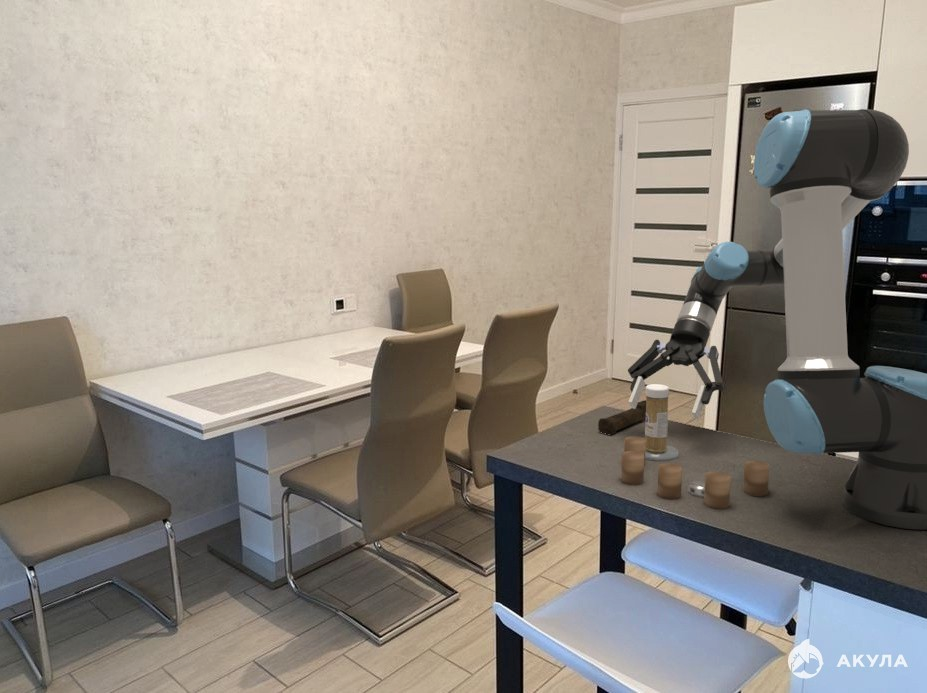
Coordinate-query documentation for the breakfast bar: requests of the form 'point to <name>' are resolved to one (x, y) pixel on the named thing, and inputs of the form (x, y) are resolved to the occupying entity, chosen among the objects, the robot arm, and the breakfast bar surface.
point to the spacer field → (672, 476)
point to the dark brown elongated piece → (623, 419)
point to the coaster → (662, 454)
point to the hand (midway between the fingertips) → (662, 410)
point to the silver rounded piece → (697, 488)
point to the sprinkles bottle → (656, 418)
